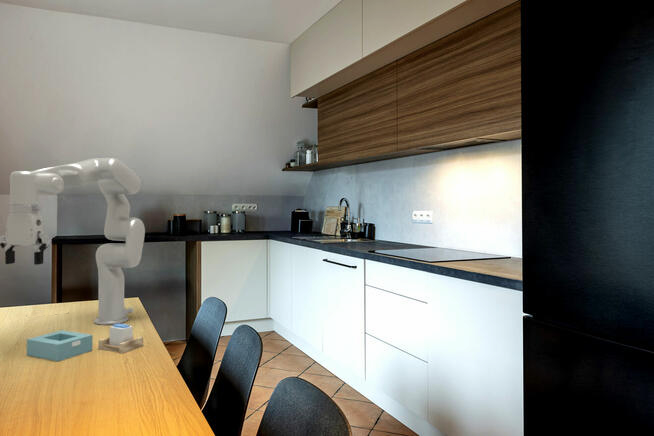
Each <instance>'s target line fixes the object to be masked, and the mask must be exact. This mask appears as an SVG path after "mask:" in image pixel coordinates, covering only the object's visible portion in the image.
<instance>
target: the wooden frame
mask: <svg viewBox="0 0 654 436" xmlns="http://www.w3.org/2000/svg"><path fill="white" fill-rule="evenodd" d="M143 346H144V337H143V336H139V337H136V338H133V339H132V340H129V341H126V342H123V343H120V344H119V346H113V345H109V337H105V338H102V339H98V350H99V351H102V350H103V351H109V352H115V353H119V354H124V353H127V352H130V351H134V350H136V349H138V348H141V347H143Z"/></svg>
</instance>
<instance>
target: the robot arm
mask: <svg viewBox="0 0 654 436" xmlns="http://www.w3.org/2000/svg"><path fill="white" fill-rule="evenodd" d="M94 182H97V186H98V189H99V190H100V191H101V193H102V194H103V196H104V199H105V201H106V203H107V211H106V216H105V222H104V230H103V232H104V236H105V238H106V239H107V240H111V241H120V242H121V241H123V242H125V243H112V242H111V243H105V244H102V245H100V246H98V248H97V250H96V251H95V262H96V266H97V270H98V272H97V273H98V274H97V275H98V311H97V312H98V317H96V318H94V320H93V322H94V324H95V325H104V326H105V325H109V326H110V325H115V324H118V323H119V324H123V323H126V322H128V321H129V316H128V314H130V313H133V312H134V308H133V307H129V308H126V307H125V275H124V272H123V269H122V268H124V269H129V268H130V269H131V268H135V267H137V266H138V265H139V264H140V262H141V259H142V254H143V247H144V243H145V234H146V228H145V225H144V222H143V221H142V220H141V219H140V218H137V217H130V213H131V205H130V204H131V203H130V202H129V200H128V198H127V197H126V195H135V194H136V193H138V192H139V191H140V189H141V183H142V182H141V180H140V178H139V176H138V175H137V173H135V172H134V170H132V169H131V168H130V167H129V166H127V165H126V164H125V163H124V162H123V161H121V160H120V159H118V158H116V157H93V158H88V159H85V160H81V161H77V162H72V163H68V164H61V165H56V166H51V167H46V168H40V169H35V170H31V171H28V170H16V171H13V172H11V173H10V175H9V184H10V185H9V190H10V191H9V201H10V202H9V206H10V207H9V209H10V210H9V211H10V212H9V213H10V214H8V217H7V220H6V225H5V233H3V234H2V235H0V247H1V248H2V251H3V252H5V253H4V254H5V255H4V256H5V258H4V260H5V262H4V263H5V265H11V264H15V263H16V252H15V250H14V249H15V248H16V247H18V246H19V247H32V248H33V249H34V250H35V251H34V253H33V254H34V255H33V260H34V261H33V262H34V263H33V264H34V265H35V266H38V265H42V264H44V252H46V249H48V247H49V245H50V243H51V241H52V238H51V237H50V236H48V235H47V234H45V231H44V230H45V229H44V221H43V218H42V215H41V214H39V212H41V210H42V207H41V206H39V196H55V195H58V194H59V193H62V192H63V190H64V189H68V188H70V189H71V188H77V187H78V188H79V187H81V186H85V185H87V184H91V183H94ZM127 320H128V321H127Z"/></svg>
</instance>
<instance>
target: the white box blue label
mask: <svg viewBox="0 0 654 436" xmlns="http://www.w3.org/2000/svg"><path fill="white" fill-rule="evenodd" d="M133 331H134V327H133V325H130V324H127V323H126V324H125V323H124V324H123V323H118V324H112V326H109V333H108V334H109V345H113V346H119V344H120V343H123V342H126V341H129V340H132V339H134V338H133V337H134V336H133V335H134V332H133Z"/></svg>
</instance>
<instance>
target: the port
mask: <svg viewBox="0 0 654 436" xmlns="http://www.w3.org/2000/svg"><path fill="white" fill-rule="evenodd" d="M91 351H93V334H88V333H83V332H77V331H69V330H62V329H61V330H58V331H54V332H50V333H45V334H41V335H39V336H34V337H31V338H26V356H29V357H32V358H33V357H35V358H40V359H44V360H49V361H54V362H61V361H64V360H66V359H70V358H73V357H75V356H79V355H83V354H85V353H86V354H87V353H89V352H91Z"/></svg>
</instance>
